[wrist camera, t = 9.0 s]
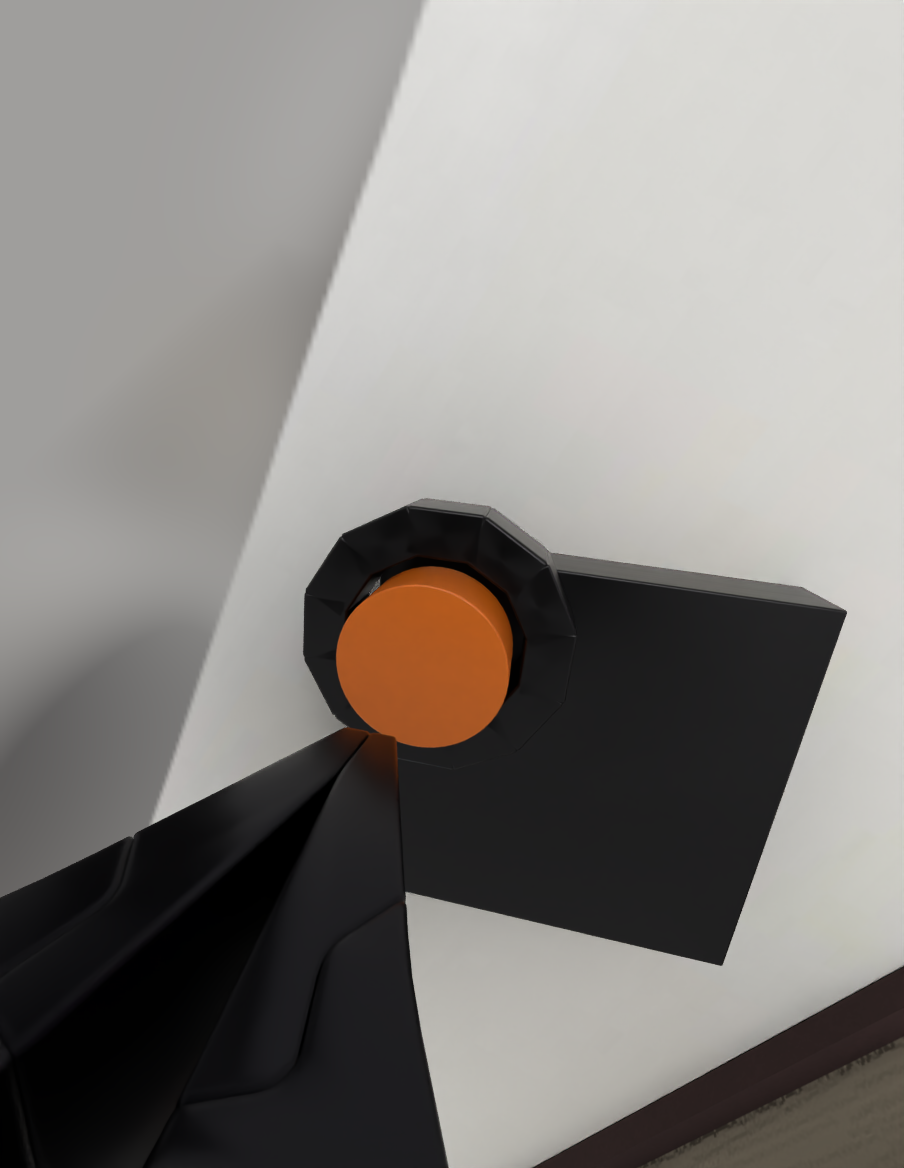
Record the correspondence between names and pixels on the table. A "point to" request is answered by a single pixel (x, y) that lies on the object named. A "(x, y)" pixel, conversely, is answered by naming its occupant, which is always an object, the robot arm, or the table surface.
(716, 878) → the button block
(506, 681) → the button
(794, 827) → the table surface
